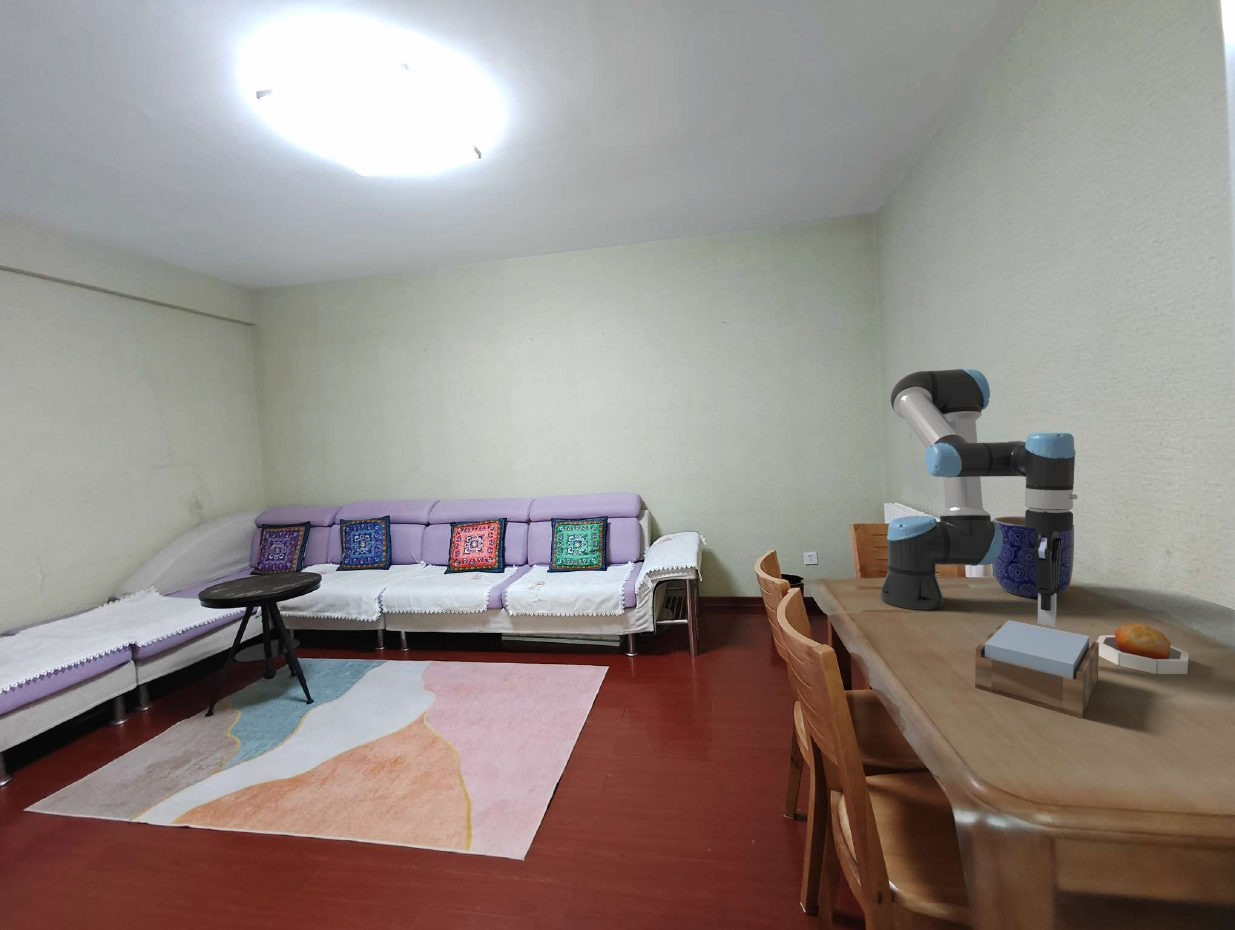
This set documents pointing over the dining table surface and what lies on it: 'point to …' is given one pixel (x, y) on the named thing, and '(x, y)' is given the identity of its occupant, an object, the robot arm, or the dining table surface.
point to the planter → (1027, 558)
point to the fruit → (1142, 641)
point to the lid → (1038, 648)
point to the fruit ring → (1143, 658)
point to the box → (1039, 682)
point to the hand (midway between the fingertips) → (1046, 624)
